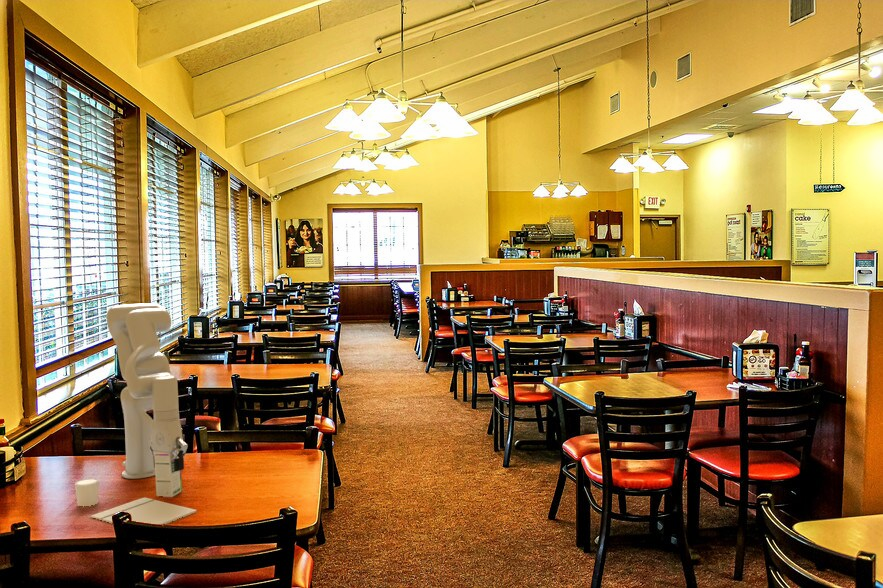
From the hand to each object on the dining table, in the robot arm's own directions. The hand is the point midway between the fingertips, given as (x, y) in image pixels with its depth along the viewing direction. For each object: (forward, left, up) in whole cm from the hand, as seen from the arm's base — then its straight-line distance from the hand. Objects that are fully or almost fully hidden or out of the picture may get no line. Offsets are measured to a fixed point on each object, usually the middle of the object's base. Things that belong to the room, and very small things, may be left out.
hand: (168, 468), depth 227 cm
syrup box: (-1, 0, -9) cm, 9 cm away
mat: (+8, -16, -8) cm, 20 cm away
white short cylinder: (-16, -18, -9) cm, 25 cm away
